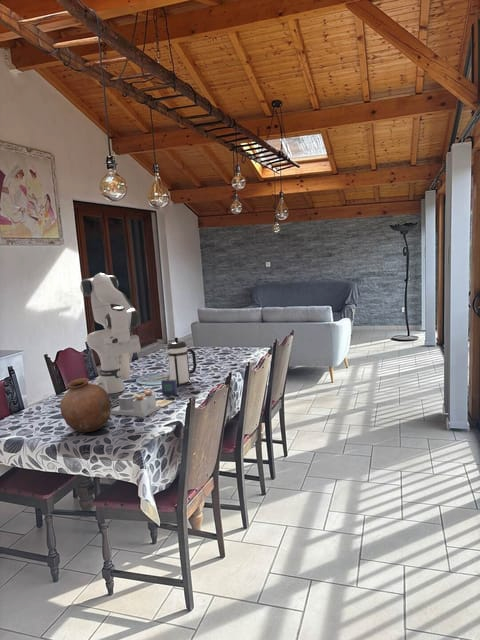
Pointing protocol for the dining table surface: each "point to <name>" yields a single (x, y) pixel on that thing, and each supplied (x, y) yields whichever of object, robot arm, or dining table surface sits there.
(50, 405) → the dining table surface
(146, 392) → the plunger
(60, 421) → the dining table surface
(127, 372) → the cartridge
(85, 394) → the pottery
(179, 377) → the coffee press
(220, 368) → the dining table surface
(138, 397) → the plunger
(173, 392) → the dark blue rectangular block
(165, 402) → the trivet
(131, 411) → the housing
